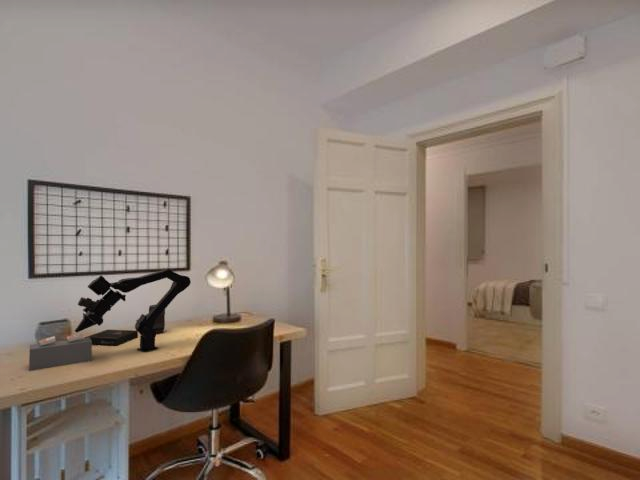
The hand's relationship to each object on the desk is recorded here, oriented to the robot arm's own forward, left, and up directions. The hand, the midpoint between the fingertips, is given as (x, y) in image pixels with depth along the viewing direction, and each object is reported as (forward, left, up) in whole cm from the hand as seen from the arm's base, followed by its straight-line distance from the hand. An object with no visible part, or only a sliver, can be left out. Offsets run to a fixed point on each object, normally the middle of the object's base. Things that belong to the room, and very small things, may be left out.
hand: (75, 331), depth 148 cm
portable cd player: (+18, -26, -13) cm, 34 cm away
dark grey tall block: (+14, -48, -12) cm, 51 cm away
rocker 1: (+3, +8, -2) cm, 9 cm away
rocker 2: (0, 0, -2) cm, 2 cm away
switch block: (+2, +4, -12) cm, 13 cm away
